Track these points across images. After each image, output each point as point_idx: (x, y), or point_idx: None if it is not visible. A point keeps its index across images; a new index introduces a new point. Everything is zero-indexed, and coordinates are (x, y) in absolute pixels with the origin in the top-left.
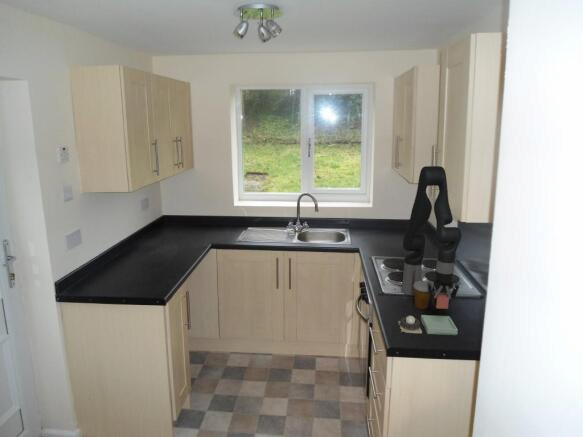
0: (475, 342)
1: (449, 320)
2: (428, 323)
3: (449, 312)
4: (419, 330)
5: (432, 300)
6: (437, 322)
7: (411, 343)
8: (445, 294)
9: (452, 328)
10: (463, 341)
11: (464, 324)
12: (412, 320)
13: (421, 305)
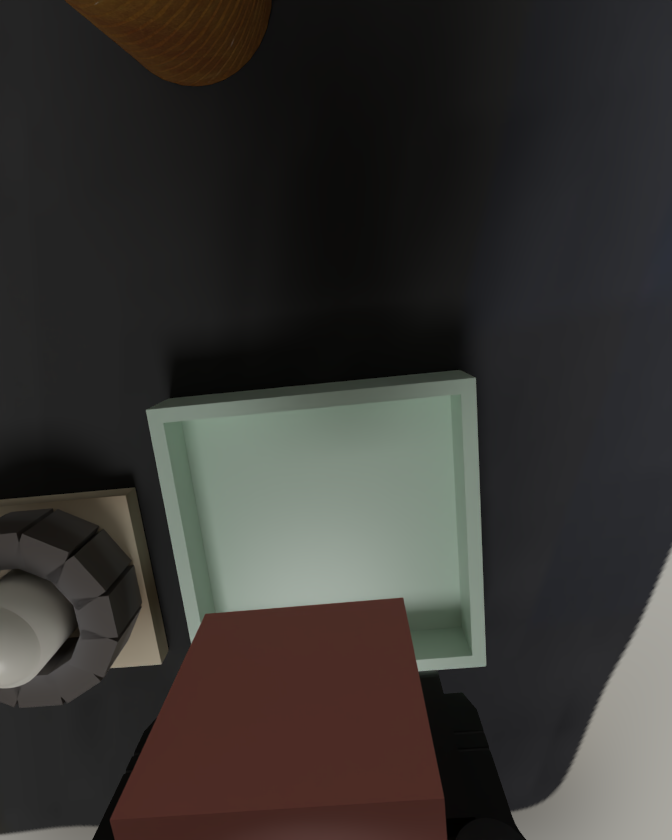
0: (591, 714)
1: (457, 440)
2: (235, 490)
3: (525, 126)
4: (139, 652)
5: (127, 773)
6: (329, 450)
7: (86, 797)
8: (423, 838)
9: (455, 547)
10: (496, 714)
11: (607, 412)
12: (17, 686)
13: (169, 68)
